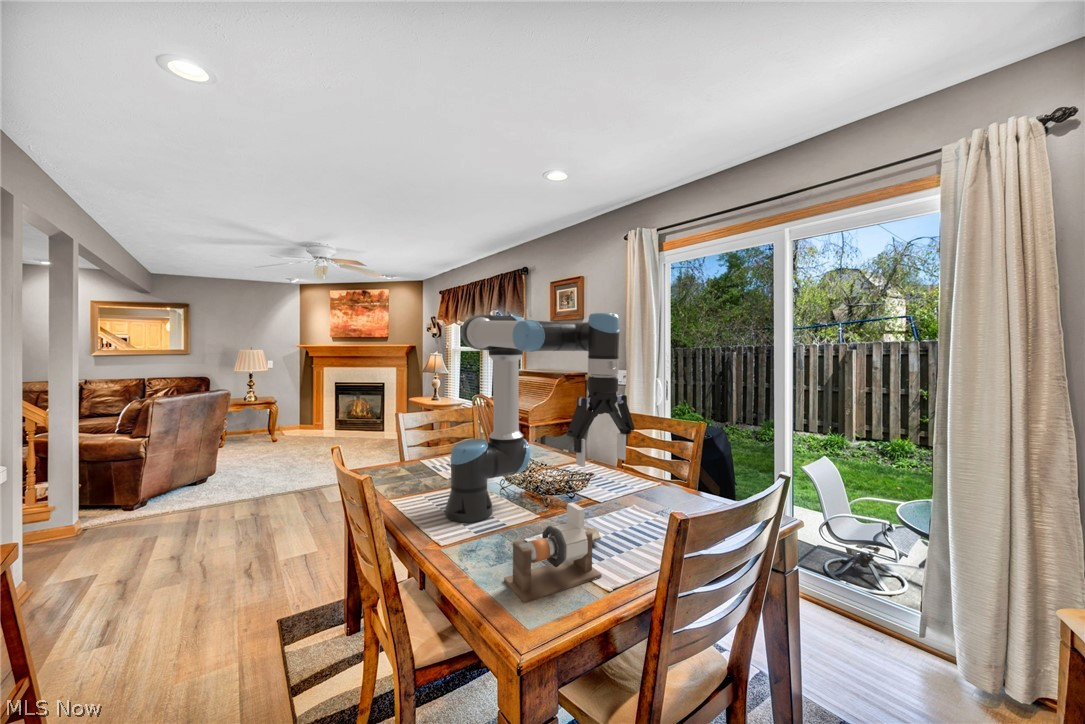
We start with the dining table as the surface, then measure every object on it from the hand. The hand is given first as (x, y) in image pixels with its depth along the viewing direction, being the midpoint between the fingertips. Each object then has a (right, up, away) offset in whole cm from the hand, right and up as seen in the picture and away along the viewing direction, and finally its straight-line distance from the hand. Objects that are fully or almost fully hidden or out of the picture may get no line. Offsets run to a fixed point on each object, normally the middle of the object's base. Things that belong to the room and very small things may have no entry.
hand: (601, 462), depth 110 cm
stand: (-12, -26, -6) cm, 30 cm away
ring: (-12, -23, -6) cm, 27 cm away
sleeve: (-9, -22, -4) cm, 24 cm away
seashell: (-4, -26, +14) cm, 30 cm away
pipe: (-12, -21, -6) cm, 25 cm away
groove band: (-16, -21, -8) cm, 27 cm away
